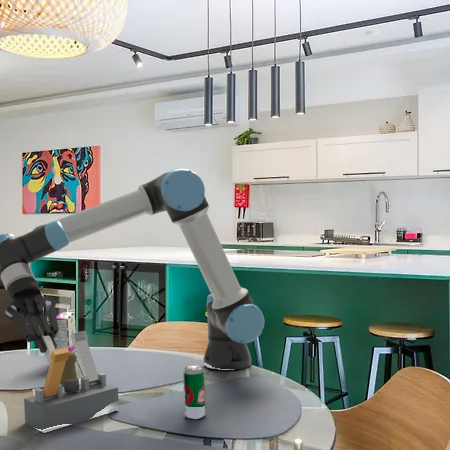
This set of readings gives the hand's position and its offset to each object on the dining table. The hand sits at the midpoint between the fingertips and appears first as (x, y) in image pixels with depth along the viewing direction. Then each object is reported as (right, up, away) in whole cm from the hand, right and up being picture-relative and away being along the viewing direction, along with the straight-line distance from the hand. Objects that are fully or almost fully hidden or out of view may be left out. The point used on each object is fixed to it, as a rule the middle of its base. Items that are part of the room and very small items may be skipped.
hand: (54, 361), depth 138 cm
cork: (-4, -15, +28) cm, 32 cm away
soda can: (+33, -14, +4) cm, 36 cm away
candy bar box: (-13, -14, +57) cm, 61 cm away
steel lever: (+7, -8, +11) cm, 15 cm away
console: (+2, -15, +7) cm, 17 cm away
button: (+2, -9, +7) cm, 12 cm away
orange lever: (-2, -9, +3) cm, 10 cm away
